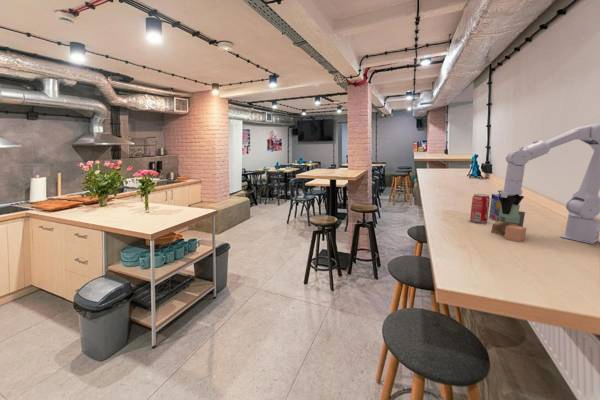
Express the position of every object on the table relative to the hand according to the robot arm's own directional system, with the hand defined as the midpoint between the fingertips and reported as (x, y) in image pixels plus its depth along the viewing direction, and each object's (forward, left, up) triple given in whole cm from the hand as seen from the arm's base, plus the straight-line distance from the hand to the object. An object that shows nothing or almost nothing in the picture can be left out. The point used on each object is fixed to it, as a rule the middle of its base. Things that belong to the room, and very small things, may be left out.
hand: (508, 213), depth 120 cm
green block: (0, 0, -1) cm, 1 cm away
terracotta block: (-5, +6, -9) cm, 12 cm away
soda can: (+16, -10, -9) cm, 20 cm away
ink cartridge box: (+12, -22, -9) cm, 26 cm away
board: (+3, -12, -9) cm, 15 cm away
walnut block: (+1, 0, -9) cm, 9 cm away
